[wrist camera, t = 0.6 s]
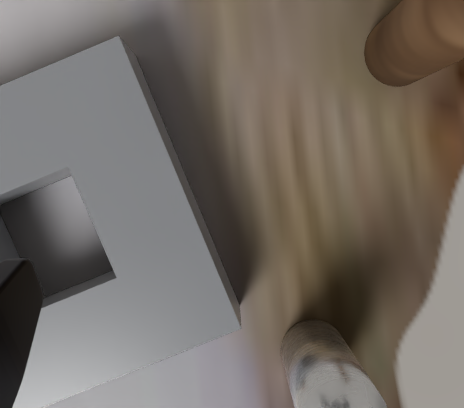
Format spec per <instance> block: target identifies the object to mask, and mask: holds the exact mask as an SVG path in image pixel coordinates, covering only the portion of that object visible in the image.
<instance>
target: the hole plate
mask: <svg viewBox="0 0 464 408" xmlns="http://www.w3.org/2000/svg"><path fill="white" fill-rule="evenodd" d="M71 175H72V177H73V179H74V182H75V184H76V186H77V189H78V191H79V193H80V195H81V198H82V200H83V202H84V205H85V207H86V209H87V211H88V214H89V216H90V218H91V220H92V223H93V225H94V227H95V230H96V232H97V234H98V236H99V239H100V241H101V243H102V246H103V248H104V250H105V252H106V255H107V257H108V259H109V261H110V264H111V266H112V268H113V271H110V272H108V273H105V274H103V275H100V276H98V277H95V278H93V279H90V280H88V281H86V282H83V283H81V284H78V285H76V286H73V287H71V288H68V289H66V290H63V291H61V292H58V293H56V294H53V295H51V296H49V297H46V298H44V299H43V304H42V308H41V312H40V316H39V320H38V324H37V327H36V331H35V335H34V339H33V343H32V347H31V351H30V355H29V358H28V362H27V366H26V370H25V373H24V377H23V380H22V383H21V386H20V389H19V391H18V394H17V397H16V399H15V402H14V405H13V407H12V408H43V407H46V406H48V405H51V404H53V403H56V402H58V401H61V400H63V399H66V398H69V397H71V396H74V395H76V394H79V393H81V392H84V391H86V390H89V389H91V388H94V387H96V386H99V385H101V384H104V383H106V382H109V381H111V380H114V379H116V378H119V377H121V376H124V375H126V374H129V373H131V372H134V371H136V370H139V369H141V368H144V367H146V366H149V365H151V364H154V363H156V362H159V361H161V360H164V359H166V358H169V357H172V356H174V355H177V354H179V353H182V352H184V351H187V350H189V349H192V348H194V347H197V346H199V345H202V344H204V343H207V342H209V341H212V340H214V339H217V338H219V337H222V336H224V335H227V334H229V333H232V332H234V331H237V330H239V329H241V317H240V305H239V303H238V301H237V298H236V296H235V293H234V291H233V289H232V286H231V284H230V281H229V279H228V277H227V274H226V272H225V269H224V267H223V264H222V262H221V260H220V257H219V255H218V252H217V250H216V248H215V245H214V243H213V240H212V238H211V236H210V233H209V231H208V228H207V226H206V224H205V221H204V219H203V216H202V214H201V212H200V209H199V207H198V204H197V202H196V200H195V197H194V195H193V192H192V190H191V188H190V185H189V183H188V180H187V178H186V176H185V173H184V171H183V168H182V166H181V164H180V161H179V159H178V156H177V154H176V152H175V149H174V147H173V144H172V142H171V140H170V137H169V135H168V132H167V130H166V128H165V125H164V123H163V120H162V118H161V116H160V113H159V111H158V108H157V106H156V104H155V101H154V99H153V96H152V94H151V92H150V89H149V87H148V84H147V82H146V80H145V77H144V75H143V72H142V70H141V68H140V65H139V63H138V60H137V58H136V56H135V54H134V53H133V52H132V51H131V50H130V48H129V47H128V46H127V45H126V44H125V42H124V41H123V40H122V39H121V38H120V36H117V37H114V38H112V39H110V40H107V41H105V42H102V43H100V44H98V45H95V46H93V47H91V48H88V49H86V50H84V51H81V52H79V53H76V54H74V55H72V56H69V57H67V58H65V59H62V60H60V61H58V62H55V63H53V64H50V65H48V66H46V67H43V68H41V69H39V70H36V71H34V72H31V73H29V74H27V75H24V76H22V77H20V78H17V79H15V80H13V81H10V82H8V83H5V84H3V85H1V86H0V205H1V204H3V203H6V202H8V201H11V200H13V199H16V198H18V197H20V196H23V195H25V194H28V193H30V192H32V191H35V190H37V189H40V188H42V187H45V186H47V185H49V184H52V183H54V182H57V181H59V180H61V179H64V178H66V177H69V176H71ZM17 258H20V257H19V254H18V252H17V250H16V248H15V246H14V243H13V241H12V239H11V237H10V235H9V233H8V230H7V228H6V226H5V224H4V222H3V219H2V217H1V215H0V262H2V261H3V260H6V259H17Z"/></svg>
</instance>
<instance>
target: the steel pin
mask: <svg viewBox="0 0 464 408" xmlns="http://www.w3.org/2000/svg"><path fill="white" fill-rule="evenodd" d="M281 358H282V362H283V366H284V369H285V373H286V377H287V381H288V384H289V388H290V392H291V395H292V399H293V403H294V407H295V408H387V405H386V403H385V401H384V399H383V398H382V396H381V395H380V393H379V392H378V390H377V389H376V387H375V386H374V384H373V383H372V381H371V380H370V378H369V377H368V375H367V374H366V372H365V371H364V369H363V368H362V366H361V365H360V363H359V362H358V360H357V359H356V357H355V356H354V354H353V353H352V351H351V350H350V348H349V347H348V345H347V344H346V342H345V341H344V339H343V338H342V336H341V335H340V333H339V332H338V330H337V329H336V328H335V327H333V326H332V325H331V324H329V323H327V322H325V321H322V320H315V319H312V320H305V321H302V322H299V323H297V324H296V325H294V326H293V327H292V328H290V329H289V331H288V332H287V333H286V335H285V336H284V338H283V341H282V344H281Z"/></svg>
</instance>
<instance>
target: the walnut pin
mask: <svg viewBox="0 0 464 408" xmlns="http://www.w3.org/2000/svg"><path fill="white" fill-rule="evenodd" d="M364 56H365V62H366V65H367V67H368V69H369V71H370V72H371V74H372V75H373V76H374V77H375V78H376V79H377V80H379V81H380V82H382V83H384V84H386V85H389V86H405V85H408V84H411V83H413V82H415V81H417V80H420V79H422V78H424V77H426V76H428V75H430V74H432V73H434V72H437V71H439V70H441V69H443V68H445V67H447V66H449V65H451V64H454V63H456V62H458V61H460V60H462V59H464V0H402V1H401V2H400V3H399V4H398V5H397V6H396V7H395V8H394V9H393V10H392V11H391V12H390V13H389V14H388V15H387V16H386V17H385V18H384V19H383V20H382V21H381V22H380V23H378V24H377V25H376V26H375V27H374V29H373V30H372V31H371V33H370V34H369V36H368V38H367V41H366V44H365V50H364Z"/></svg>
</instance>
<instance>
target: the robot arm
mask: <svg viewBox="0 0 464 408" xmlns="http://www.w3.org/2000/svg"><path fill="white" fill-rule="evenodd" d="M42 304H43V291H42V288H41V285H40V282H39V279H38V277H37V274H36V271H35V268H34V265H33V263H32V262H31V261H30V260H29V259H27V258H17V259H6V260H3V261H2V262H0V408H12V407H13V405H14V402H15V399H16V397H17V394H18V391H19V389H20V386H21V383H22V380H23V377H24V373H25V370H26V366H27V362H28V358H29V355H30V351H31V347H32V343H33V339H34V335H35V331H36V327H37V324H38V320H39V316H40V312H41V308H42Z"/></svg>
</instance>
